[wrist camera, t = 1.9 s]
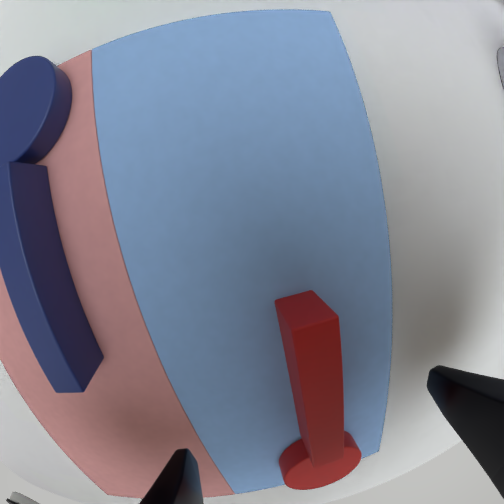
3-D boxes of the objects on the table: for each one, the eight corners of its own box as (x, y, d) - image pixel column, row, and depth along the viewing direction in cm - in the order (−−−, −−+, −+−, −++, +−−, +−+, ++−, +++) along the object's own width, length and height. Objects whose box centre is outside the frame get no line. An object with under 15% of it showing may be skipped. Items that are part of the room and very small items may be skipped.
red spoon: (351, 457, 10) (365, 483, 8) (284, 479, 10) (292, 508, 8) (347, 278, 8) (381, 300, 6) (233, 309, 8) (238, 343, 6)
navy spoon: (-2, 97, 5) (-33, 85, 3) (73, 51, 6) (46, 24, 4) (55, 362, 7) (31, 393, 6) (135, 353, 8) (119, 391, 6)
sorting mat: (376, 446, 11) (379, 451, 11) (108, 490, 10) (107, 495, 9) (326, 16, 7) (330, 11, 6) (-44, 145, 5) (-49, 145, 5)
